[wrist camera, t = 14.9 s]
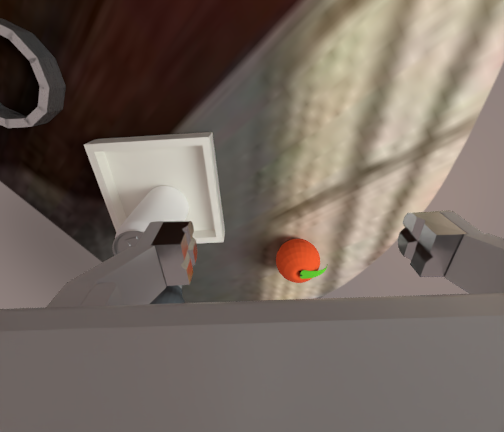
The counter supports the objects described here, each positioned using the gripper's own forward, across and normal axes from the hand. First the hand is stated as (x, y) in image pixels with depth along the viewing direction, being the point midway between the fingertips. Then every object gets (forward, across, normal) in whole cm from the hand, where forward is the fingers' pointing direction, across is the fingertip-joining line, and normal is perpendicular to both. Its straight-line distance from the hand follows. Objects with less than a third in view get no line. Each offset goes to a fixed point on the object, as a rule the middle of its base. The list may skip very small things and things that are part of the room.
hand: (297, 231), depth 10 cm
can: (+27, +15, +12) cm, 33 cm away
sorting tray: (+27, +15, +10) cm, 33 cm away
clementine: (+27, -5, +22) cm, 35 cm away
